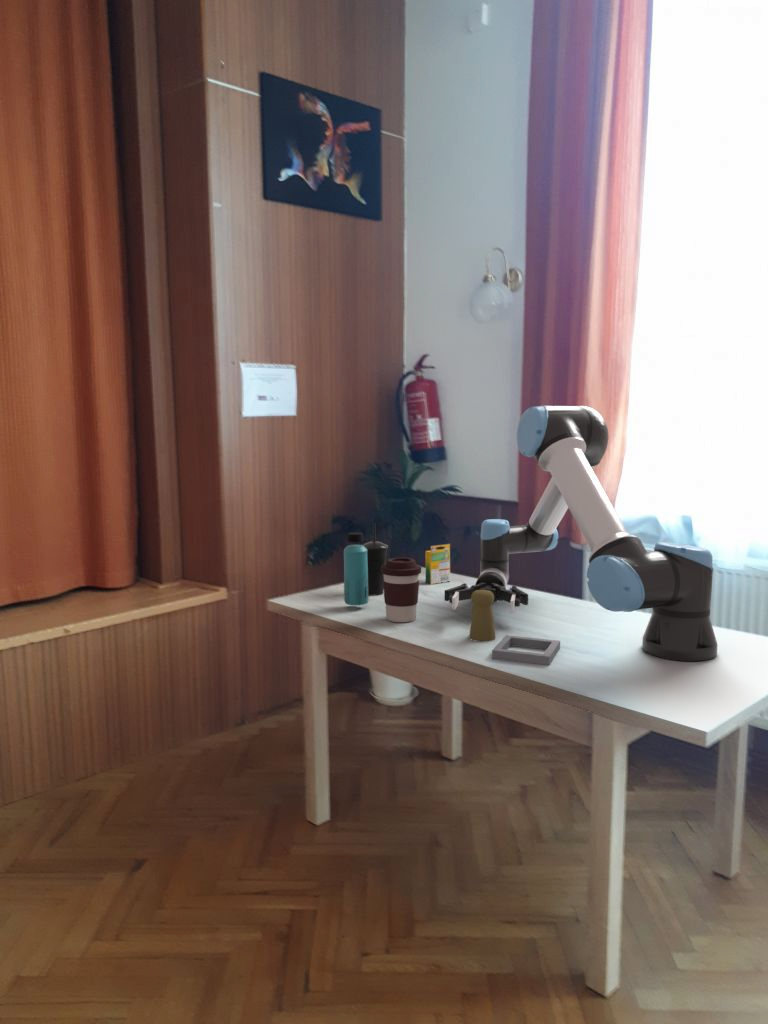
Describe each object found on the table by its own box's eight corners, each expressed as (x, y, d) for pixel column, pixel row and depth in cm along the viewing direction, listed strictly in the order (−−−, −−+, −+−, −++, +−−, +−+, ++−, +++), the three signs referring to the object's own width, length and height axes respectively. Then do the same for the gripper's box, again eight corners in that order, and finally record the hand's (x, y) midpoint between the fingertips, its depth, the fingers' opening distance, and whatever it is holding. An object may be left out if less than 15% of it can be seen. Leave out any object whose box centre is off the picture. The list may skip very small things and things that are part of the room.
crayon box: (444, 580, 243) (444, 542, 242) (450, 581, 241) (450, 543, 239) (424, 582, 239) (425, 544, 238) (430, 584, 237) (430, 546, 235)
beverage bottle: (368, 611, 207) (367, 534, 204) (342, 611, 207) (341, 534, 204) (369, 604, 213) (368, 530, 210) (344, 604, 213) (343, 530, 211)
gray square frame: (560, 648, 174) (560, 640, 174) (549, 665, 163) (549, 656, 163) (505, 642, 178) (506, 635, 178) (491, 658, 167) (492, 650, 167)
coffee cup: (380, 624, 194) (380, 563, 192) (381, 614, 204) (381, 556, 202) (421, 624, 194) (422, 563, 192) (420, 614, 204) (420, 556, 202)
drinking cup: (389, 590, 230) (389, 521, 227) (386, 596, 222) (386, 525, 219) (363, 589, 230) (362, 521, 228) (359, 596, 223) (358, 525, 220)
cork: (497, 641, 180) (498, 593, 178) (470, 641, 180) (470, 593, 178) (493, 633, 186) (494, 587, 184) (467, 634, 186) (467, 587, 184)
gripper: (539, 601, 205) (536, 623, 184) (443, 597, 210) (429, 618, 190) (540, 573, 204) (537, 591, 183) (443, 569, 209) (429, 587, 189)
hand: (482, 605), depth 186 cm, fingers open, 13 cm apart
